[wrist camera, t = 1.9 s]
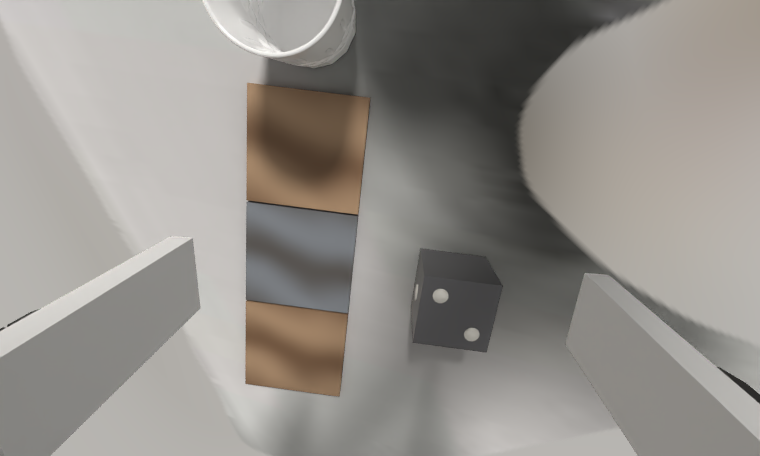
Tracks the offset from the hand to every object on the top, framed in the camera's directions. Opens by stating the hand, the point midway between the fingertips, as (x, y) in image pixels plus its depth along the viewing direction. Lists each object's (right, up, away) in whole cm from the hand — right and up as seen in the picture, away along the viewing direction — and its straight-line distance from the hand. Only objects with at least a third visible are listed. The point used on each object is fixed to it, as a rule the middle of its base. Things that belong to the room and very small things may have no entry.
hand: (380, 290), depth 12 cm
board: (-8, -1, +22) cm, 23 cm away
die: (+6, -3, +22) cm, 23 cm away
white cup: (-5, +18, +16) cm, 25 cm away
